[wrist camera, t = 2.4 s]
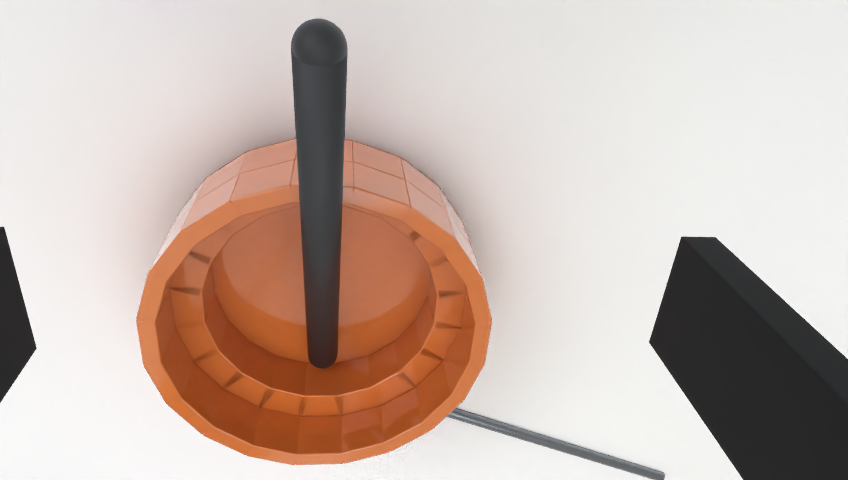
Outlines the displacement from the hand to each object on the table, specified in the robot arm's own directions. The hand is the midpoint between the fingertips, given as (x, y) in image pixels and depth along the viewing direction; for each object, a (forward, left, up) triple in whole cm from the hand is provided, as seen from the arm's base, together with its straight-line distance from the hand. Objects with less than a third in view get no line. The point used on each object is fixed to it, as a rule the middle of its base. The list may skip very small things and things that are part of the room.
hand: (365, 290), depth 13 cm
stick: (+6, -1, -13) cm, 14 cm away
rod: (+24, +14, -19) cm, 33 cm away
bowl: (+11, -1, -18) cm, 21 cm away
